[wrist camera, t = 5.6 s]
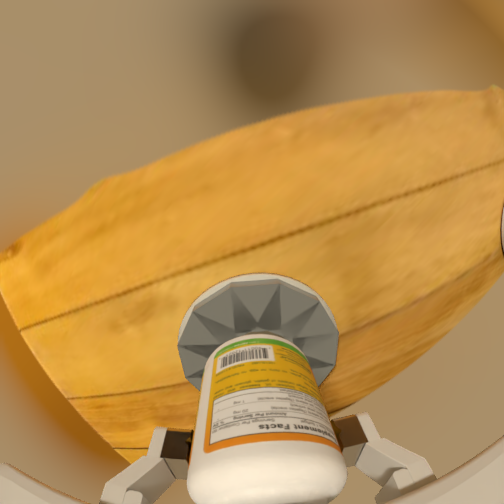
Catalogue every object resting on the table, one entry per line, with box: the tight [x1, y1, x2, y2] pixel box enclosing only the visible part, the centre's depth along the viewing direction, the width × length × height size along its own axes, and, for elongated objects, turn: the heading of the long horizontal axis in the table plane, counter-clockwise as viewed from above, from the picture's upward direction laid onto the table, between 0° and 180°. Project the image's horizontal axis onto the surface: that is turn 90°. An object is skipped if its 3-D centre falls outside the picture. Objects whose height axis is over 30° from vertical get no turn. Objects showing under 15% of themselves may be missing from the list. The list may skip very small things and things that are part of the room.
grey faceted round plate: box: [177, 273, 339, 391], centre depth 28 cm, size 18×18×2 cm
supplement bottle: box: [187, 334, 347, 504], centre depth 8 cm, size 5×5×10 cm
